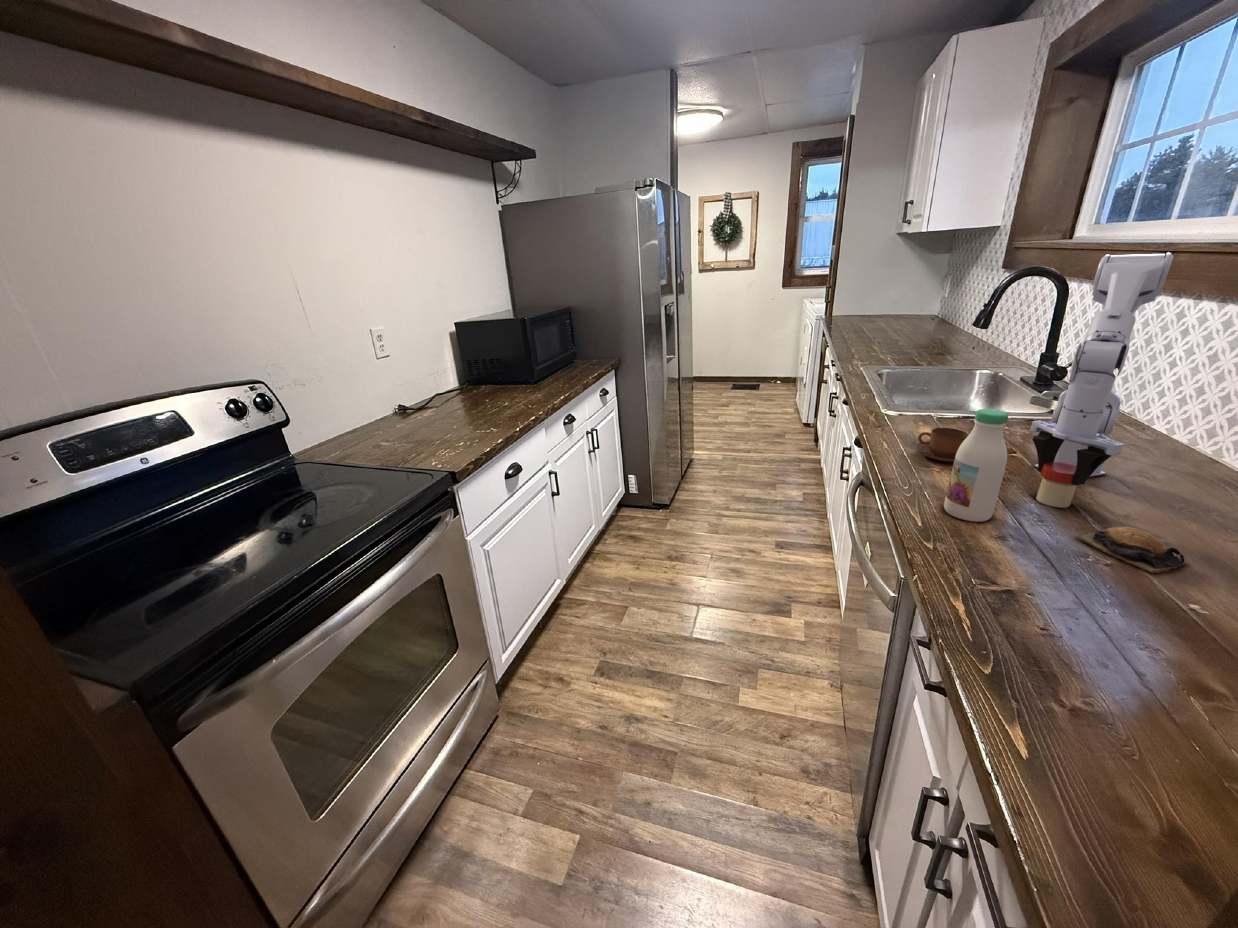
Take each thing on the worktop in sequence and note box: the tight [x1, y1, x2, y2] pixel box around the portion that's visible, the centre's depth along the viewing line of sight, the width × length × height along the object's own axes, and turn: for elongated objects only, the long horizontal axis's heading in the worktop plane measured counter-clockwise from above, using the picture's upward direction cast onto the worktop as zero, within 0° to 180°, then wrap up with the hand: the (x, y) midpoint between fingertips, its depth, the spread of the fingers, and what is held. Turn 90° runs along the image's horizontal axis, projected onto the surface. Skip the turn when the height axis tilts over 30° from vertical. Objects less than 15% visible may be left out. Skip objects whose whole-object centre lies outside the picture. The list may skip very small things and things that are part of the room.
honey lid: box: [1040, 462, 1076, 484], centre depth 94 cm, size 6×6×2 cm
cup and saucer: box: [916, 427, 969, 463], centre depth 118 cm, size 12×12×6 cm
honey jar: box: [1035, 476, 1078, 508], centre depth 95 cm, size 5×5×6 cm
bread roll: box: [1078, 526, 1187, 574], centre depth 80 cm, size 11×8×4 cm
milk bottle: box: [943, 408, 1009, 523], centre depth 90 cm, size 8×8×20 cm
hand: (1060, 477), depth 95 cm, fingers closed on honey lid, 6 cm apart
